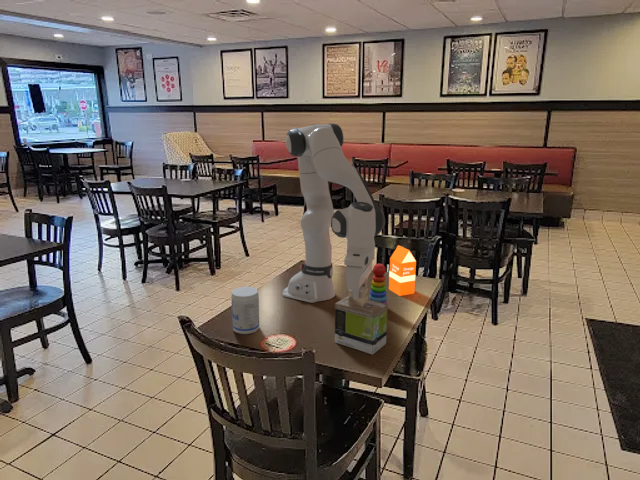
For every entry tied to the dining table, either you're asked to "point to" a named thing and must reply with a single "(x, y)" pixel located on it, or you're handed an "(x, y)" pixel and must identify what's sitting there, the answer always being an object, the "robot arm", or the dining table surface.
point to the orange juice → (402, 272)
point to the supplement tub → (245, 310)
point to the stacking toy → (378, 284)
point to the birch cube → (362, 297)
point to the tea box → (361, 325)
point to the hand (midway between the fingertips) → (359, 293)
